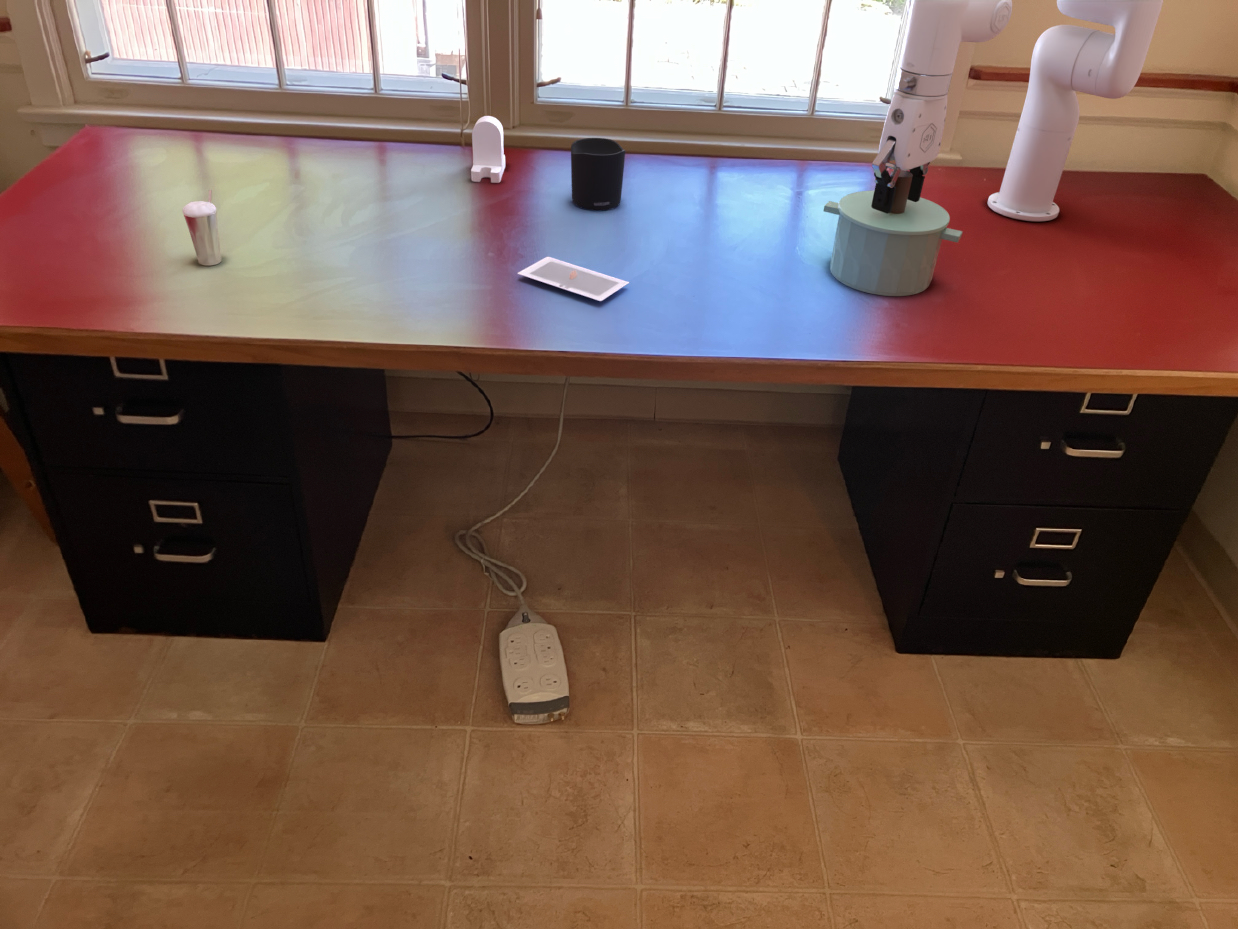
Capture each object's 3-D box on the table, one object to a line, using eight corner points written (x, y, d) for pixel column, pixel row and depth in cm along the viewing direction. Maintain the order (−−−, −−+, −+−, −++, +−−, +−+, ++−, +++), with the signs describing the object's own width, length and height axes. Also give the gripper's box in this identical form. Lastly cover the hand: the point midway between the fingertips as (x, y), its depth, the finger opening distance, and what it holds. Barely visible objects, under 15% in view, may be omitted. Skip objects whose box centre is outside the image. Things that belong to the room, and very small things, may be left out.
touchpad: (547, 262, 151) (547, 249, 150) (629, 289, 145) (629, 275, 144) (517, 280, 145) (516, 266, 144) (600, 308, 139) (601, 294, 138)
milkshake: (236, 256, 147) (223, 192, 142) (213, 269, 143) (199, 204, 137) (211, 251, 149) (197, 187, 143) (187, 264, 144) (172, 199, 139)
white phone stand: (505, 164, 186) (504, 111, 180) (499, 182, 178) (498, 127, 172) (478, 163, 186) (476, 110, 180) (471, 181, 178) (468, 126, 172)
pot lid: (856, 190, 157) (864, 148, 153) (959, 212, 151) (970, 169, 147) (822, 222, 145) (830, 177, 141) (932, 248, 139) (943, 202, 135)
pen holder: (561, 206, 170) (561, 149, 165) (582, 189, 178) (584, 134, 172) (610, 216, 168) (613, 158, 162) (630, 198, 175) (633, 143, 169)
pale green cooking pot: (832, 242, 163) (843, 184, 157) (957, 273, 155) (973, 213, 149) (800, 275, 152) (810, 213, 146) (933, 310, 144) (949, 246, 138)
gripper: (911, 98, 129) (883, 226, 140) (977, 79, 139) (946, 199, 150) (864, 85, 133) (841, 210, 144) (931, 68, 144) (905, 185, 154)
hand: (895, 203), depth 147 cm, fingers open, 7 cm apart
